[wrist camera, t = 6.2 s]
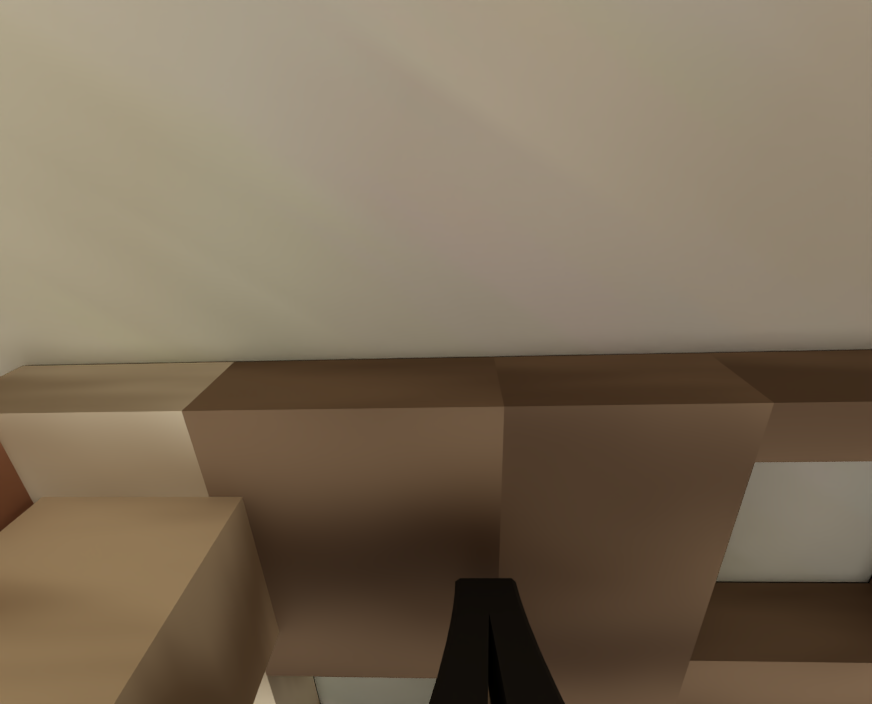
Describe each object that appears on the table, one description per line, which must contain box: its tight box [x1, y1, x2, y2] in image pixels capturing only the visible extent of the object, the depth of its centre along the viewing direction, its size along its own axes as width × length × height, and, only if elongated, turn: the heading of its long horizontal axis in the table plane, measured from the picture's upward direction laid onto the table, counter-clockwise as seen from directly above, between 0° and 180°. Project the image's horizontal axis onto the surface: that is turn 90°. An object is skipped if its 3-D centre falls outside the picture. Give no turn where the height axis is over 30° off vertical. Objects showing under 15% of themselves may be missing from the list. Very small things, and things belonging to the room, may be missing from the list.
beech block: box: [0, 497, 279, 704], centre depth 9 cm, size 5×5×5 cm
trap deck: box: [0, 350, 872, 704], centre depth 13 cm, size 18×27×4 cm, turn 92°
